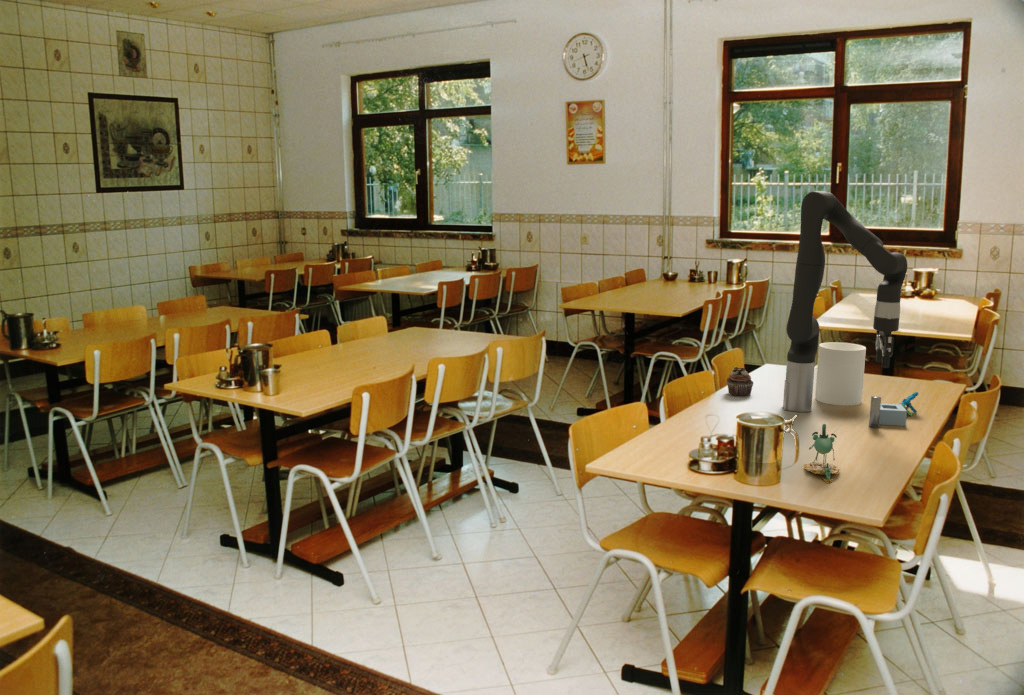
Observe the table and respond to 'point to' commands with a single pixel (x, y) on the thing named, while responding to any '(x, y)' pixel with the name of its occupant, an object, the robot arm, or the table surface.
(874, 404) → the pin
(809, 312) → the robot arm
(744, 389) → the cupcake
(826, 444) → the frog figurine
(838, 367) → the canister
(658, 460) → the table surface
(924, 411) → the table surface
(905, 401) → the teal lobed toy
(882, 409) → the socket block
